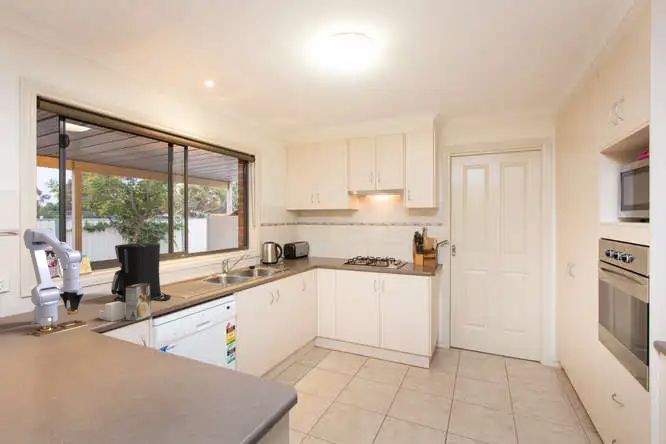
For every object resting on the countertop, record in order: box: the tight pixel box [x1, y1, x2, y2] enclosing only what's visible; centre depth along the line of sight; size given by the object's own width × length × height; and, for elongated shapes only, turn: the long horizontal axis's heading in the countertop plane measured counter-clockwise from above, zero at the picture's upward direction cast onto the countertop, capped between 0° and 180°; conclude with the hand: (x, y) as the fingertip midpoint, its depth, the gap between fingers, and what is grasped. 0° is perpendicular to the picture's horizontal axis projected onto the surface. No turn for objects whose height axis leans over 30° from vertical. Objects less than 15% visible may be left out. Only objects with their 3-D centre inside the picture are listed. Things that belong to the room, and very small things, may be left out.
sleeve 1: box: [39, 316, 54, 332], centre depth 139 cm, size 4×4×6 cm
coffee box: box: [125, 283, 152, 321], centre depth 162 cm, size 9×6×16 cm
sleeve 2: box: [66, 300, 79, 315], centre depth 148 cm, size 4×4×6 cm
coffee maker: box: [110, 242, 172, 303], centre depth 203 cm, size 23×32×34 cm
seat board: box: [29, 319, 88, 338], centre depth 143 cm, size 11×17×2 cm, turn 153°
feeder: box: [98, 301, 126, 322], centre depth 160 cm, size 11×6×8 cm, turn 63°
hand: (71, 309), depth 147 cm, fingers closed on sleeve 2, 4 cm apart
